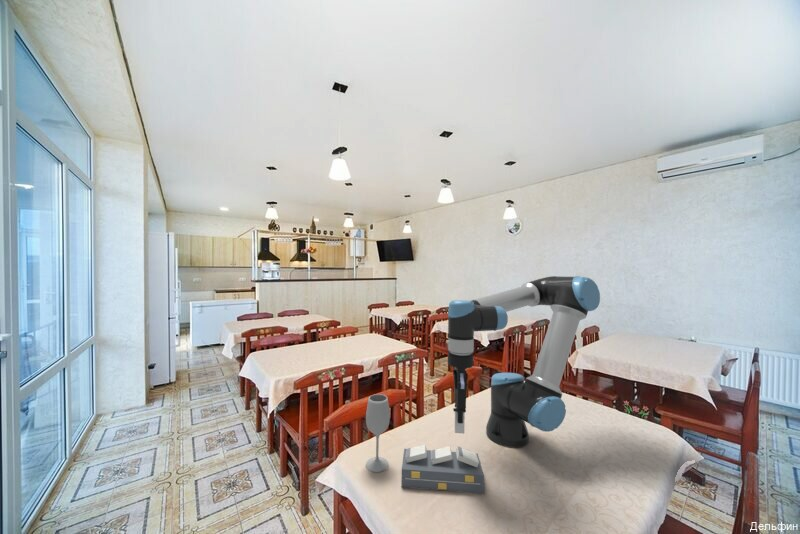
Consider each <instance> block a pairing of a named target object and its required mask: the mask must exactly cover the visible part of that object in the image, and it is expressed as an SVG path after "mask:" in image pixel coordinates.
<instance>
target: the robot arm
mask: <svg viewBox="0 0 800 534" xmlns="http://www.w3.org/2000/svg"><path fill="white" fill-rule="evenodd" d="M600 302H601V293H600V289H599V287H598V285H597V282H595V281H594V280H593V279H592V278H589V277H587V276H586V277H585V276H580V275H579V276H578V275H575V276H560V275H559V276H552V275H551V276H546V277H542V278H538V279H534V280H530V281H527V282H525V283H523V284H522V285H521V286H519V287H516V288H511V289H507V290H504V291H501V292H498V293H493V294H490V295H486V296H482V297H479V298H476V299H472V300H468V299H467V300H465V299H464V300H463V299H455V300H454V299H453V300H450V302H449V304H448V313H447V317H448V318H447V319H448V321H447V325H448V326H447V330H448V331H447V334H448V335H447V337H448V338H447V340H446V341H445V344H447V349H448V352H447V365H448V366H450V367H451V368H455V369H452V376H453V386H454V389H453V392H454V400H453V402H454V407H453V412H454V433H455V434H463V435H464V434H465V419H466V418H465V415H466V414H465V413H466V412H467V393H468V392H467V389H468V379H469V378H468V376H469V375H468V372H467V369H470V368H473V366H474V354H473V353H474V351H475V350H474V349H475V348H474V347H475V346H474V343H475V341H474V336H475V332H486V331H487V332H488V331H490V332H491V331H494V332H495V331H500V330H503V329H505V328H506V327H507V325H508V321H509V320H508V318H509V317H508V312H510V311H514V310H518V309H521V308H524V307H527V306H528V307H536V306H550V309H551V311H552V315H551V318H550V321H549V324H548V326H547V330H546V333H545V336H544V339H543V342H542V345H541V348H540V350H539V351H540V352H539V354H538V356H537V359H536V363H535V365H534V369H533V371H532V374H531V375H530V376H527V377H526V378H525V377H524V376H523V375H522V374H520V373H516V372H498V373H495V374H493V375H492V376H491V379H490V380H491V382H490V407H491V408H490V414H489V416H488V420H487V423H486V426H485V427H486V428H485V429H486V430H485V432H486V433H485V434H486V436H487V438H489V439H490V440H491V441H492V442H494V443H496V444H498V445H500V446H503V447H506V448H507V447H508V448H521V447H525V446H527V445H528V443H529V440H530V438H529V436H530V435H529V430H528V426H527V424H528V425H530V426H531V427H532V428H533V427H534V428H535V429H538V430H540V431H541V432H548V433H549V432H552V431H554V430H555V429H558V428H559V427H560V426H561V425H562V423H563V422H564V421H565V420H564V419H565V417H566V413H567V409H566V404H565V402H564V401H563V399H562V397H563V392H562V391H561V388H560V386H561V385H560V384H561V381H562V378H563V375H564V372H565V369H566V365H567V363H568V359H569V356H570V354H571V353H570V352H571V350H572V346H573V343H574V340H575V337H576V333H577V331H578V328H579V327H578V326H579V325H580V321H582V320H584V319H586V318H587V315H588V312H592V311H595V310H596V309H597V308H598V307H599V305H600ZM526 423H527V424H526Z"/></svg>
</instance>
